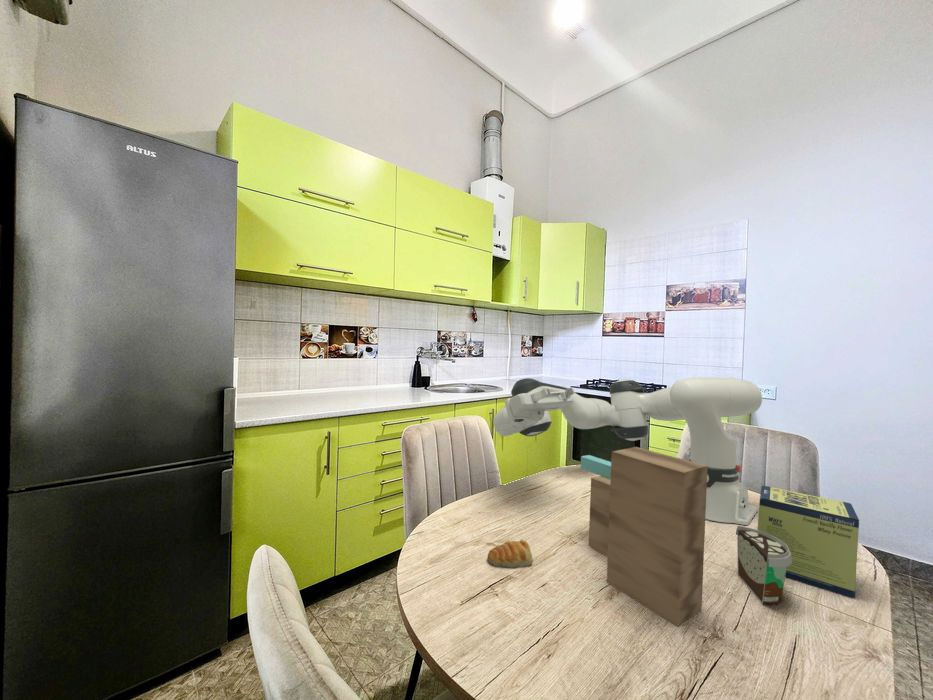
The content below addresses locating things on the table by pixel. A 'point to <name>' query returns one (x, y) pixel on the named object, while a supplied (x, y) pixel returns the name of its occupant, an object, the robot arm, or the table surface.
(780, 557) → the food container
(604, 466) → the teal block
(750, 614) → the table surface
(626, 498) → the walnut stand
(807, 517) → the protein box
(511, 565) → the pastry
